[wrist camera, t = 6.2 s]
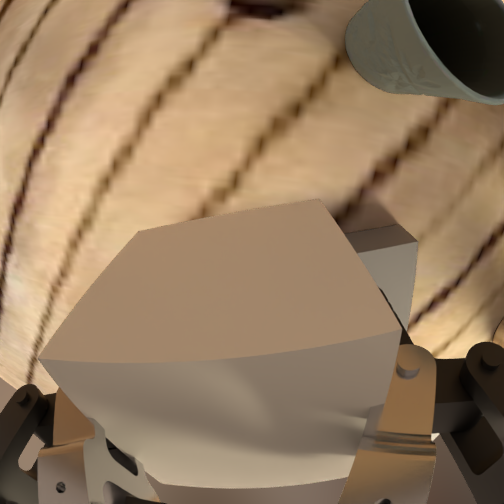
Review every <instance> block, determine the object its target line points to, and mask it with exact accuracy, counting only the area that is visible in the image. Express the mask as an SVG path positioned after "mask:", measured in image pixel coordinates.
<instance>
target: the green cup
mask: <svg viewBox="0 0 504 504" xmlns="http://www.w3.org/2000/svg"><path fill="white" fill-rule="evenodd" d="M345 46H346V50H347V54H348V56H349V59H350V61H351V63H352V65H353V66H354V68H355V69H356V70H357V72H358V73H359V74H360V75H361V76H362V77H363V78H364V79H365V80H366V81H368V82H369V83H370V84H372V85H373V86H375V87H377V88H378V89H381V90H383V91H386V92H389V93H395V94H414V95H422V94H424V95H427V96H437V97H447V98H457V99H464V100H467V101H473V102H478V103H484V104H490V105H502V104H504V3H503V2H502V0H369V1H368V2H366V3H365V4H364V6H363V7H362V8H361V9H360V10H359V11H358V12H357V13H356V14H355V16H354V17H353V18H352V19H351V21H350V22H349V24H348V26H347V29H346V35H345Z"/></svg>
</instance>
